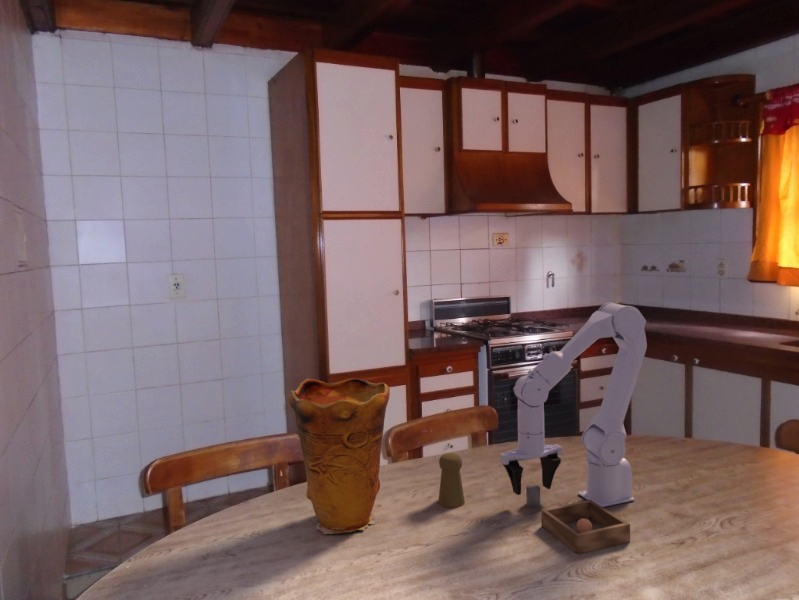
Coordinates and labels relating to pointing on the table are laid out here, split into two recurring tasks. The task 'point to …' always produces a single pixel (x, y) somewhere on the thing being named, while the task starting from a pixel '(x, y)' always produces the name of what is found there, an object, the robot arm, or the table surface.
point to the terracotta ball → (584, 525)
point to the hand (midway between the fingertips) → (531, 490)
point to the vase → (341, 448)
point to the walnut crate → (591, 540)
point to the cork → (451, 481)
